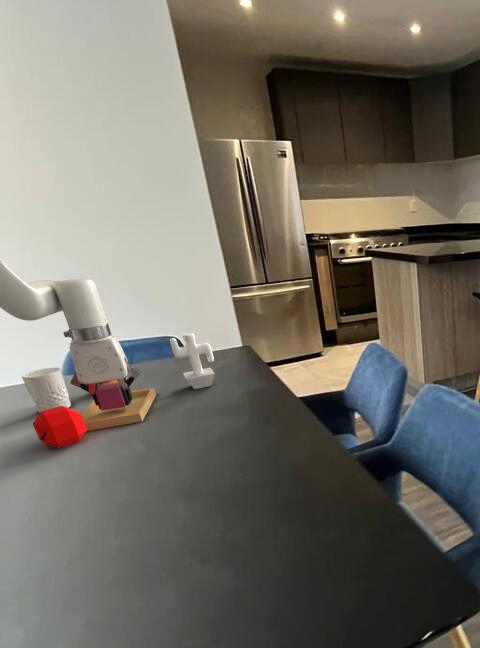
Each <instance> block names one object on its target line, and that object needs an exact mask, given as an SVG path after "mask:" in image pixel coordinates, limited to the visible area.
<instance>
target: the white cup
mask: <svg viewBox="0 0 480 648" xmlns="http://www.w3.org/2000/svg"><path fill="white" fill-rule="evenodd" d="M21 379H22V380H23V382H24V386H25V387H26V389H27V391H28V393H29V395H30V397H31V399H32V401H33V402H34V404H35V406H36V408H37V411H38V412H39V413H40V412H41V411H44V410H48V409H52V408H56V407H59V406H65V407H67V408H70V407H71V406H72V402H71V400H70V395H69V392H68V388H67V385H66V382H65V379H64V375H63V373H62V370H61V368H60V367H47V368H41V369H36V370H31V371H28V372H26V373H23V374H22V375H21Z"/></svg>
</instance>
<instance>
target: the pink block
mask: <svg viewBox="0 0 480 648" xmlns="http://www.w3.org/2000/svg"><path fill="white" fill-rule="evenodd" d="M95 393H96V396H97V398H98V401H99V404H100V407H101V410H102V411H103V410H110V409H116V408H122V407H125V406H126V404H125V401H124V398H123V394H122V387H121V385H120V384H119V382H116V383H113V384H106V385H101V386H100V387H99V388H98V389H97V390H96V391H95Z"/></svg>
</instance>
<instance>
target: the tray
mask: <svg viewBox="0 0 480 648" xmlns="http://www.w3.org/2000/svg"><path fill="white" fill-rule="evenodd" d="M131 394H132V397H133V400H131V403H130V404H129V405H126V406H125V407H122V408H116V409H110V410H103V411H102V410H101V409H99V406H96V404H95V401H94V399H93V400H92V401H91V402H90V404H89V405H88V406H87V407H86V408H85V409H84V411H82V412H81V413H80V414H81V415H82V417H83V420H84V422H85V425H86V428H87V431H86V432H89V431H90V432H91V431H95V430H102V429H106V428H113V427H117V426H118V427H119V426H124V425H131V424H134V423H141V422H143V421H144V419H145V417H146V415H147V413H148V412H149V410H150V408H151V406H152V403H153V402H154V401H155V398H156V396H157V393H156V390H155V387H152V388H145V389H140V390H139V389H137V390H131Z"/></svg>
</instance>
